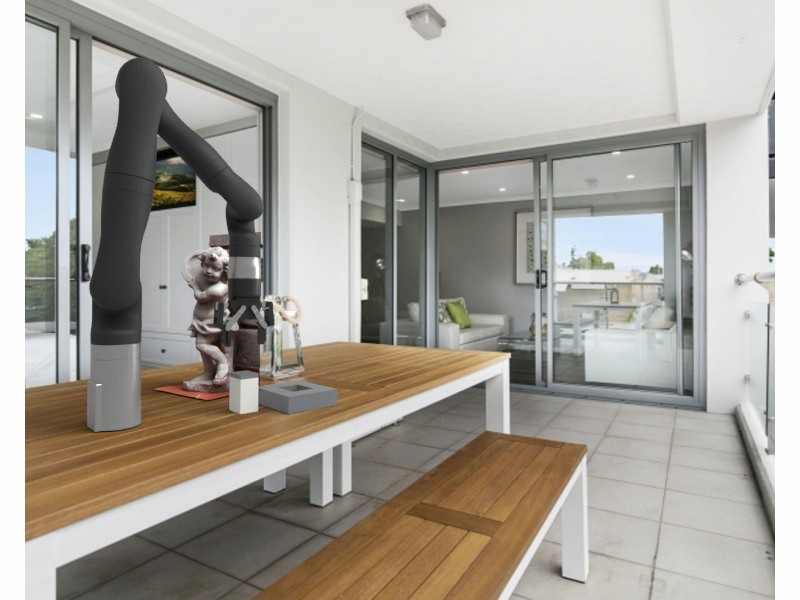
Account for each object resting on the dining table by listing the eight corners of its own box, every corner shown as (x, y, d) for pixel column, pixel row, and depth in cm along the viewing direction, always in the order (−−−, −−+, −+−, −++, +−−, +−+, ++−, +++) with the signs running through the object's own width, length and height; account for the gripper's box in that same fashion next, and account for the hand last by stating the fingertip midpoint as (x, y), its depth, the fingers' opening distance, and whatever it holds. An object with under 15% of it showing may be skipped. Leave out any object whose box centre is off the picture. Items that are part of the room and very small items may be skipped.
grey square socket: (288, 414, 117) (288, 396, 117) (254, 402, 128) (254, 386, 128) (336, 405, 126) (337, 389, 126) (300, 394, 138) (301, 380, 138)
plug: (240, 414, 116) (240, 375, 116) (229, 410, 120) (229, 372, 120) (258, 411, 119) (258, 373, 119) (246, 407, 123) (247, 370, 123)
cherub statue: (154, 390, 140) (155, 229, 139) (210, 381, 156) (211, 235, 155) (207, 401, 128) (208, 224, 127) (262, 389, 144) (264, 232, 143)
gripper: (222, 276, 111) (222, 349, 112) (279, 277, 121) (279, 344, 122) (208, 276, 116) (208, 346, 117) (263, 277, 126) (263, 342, 127)
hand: (244, 345), depth 119 cm, fingers open, 8 cm apart
